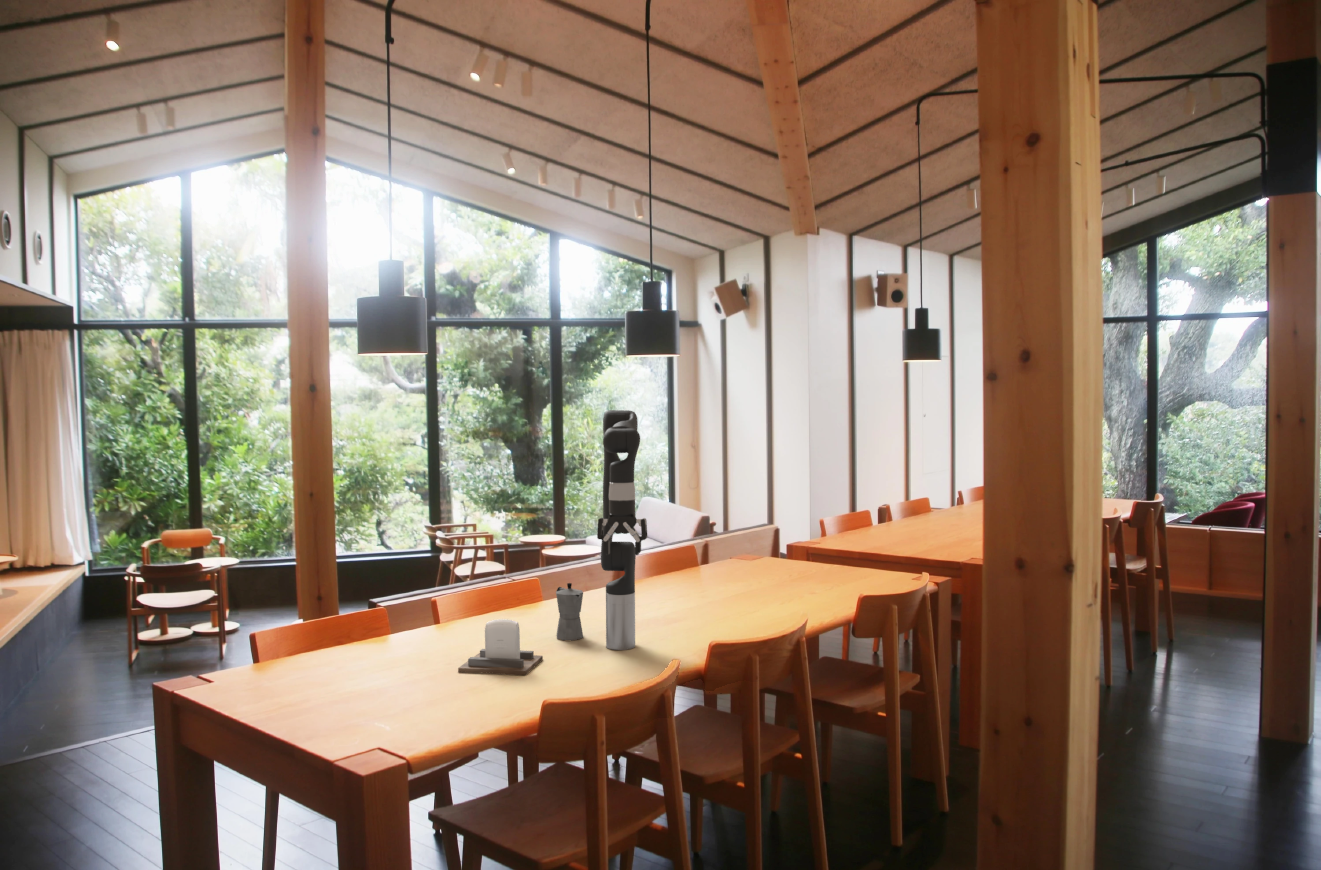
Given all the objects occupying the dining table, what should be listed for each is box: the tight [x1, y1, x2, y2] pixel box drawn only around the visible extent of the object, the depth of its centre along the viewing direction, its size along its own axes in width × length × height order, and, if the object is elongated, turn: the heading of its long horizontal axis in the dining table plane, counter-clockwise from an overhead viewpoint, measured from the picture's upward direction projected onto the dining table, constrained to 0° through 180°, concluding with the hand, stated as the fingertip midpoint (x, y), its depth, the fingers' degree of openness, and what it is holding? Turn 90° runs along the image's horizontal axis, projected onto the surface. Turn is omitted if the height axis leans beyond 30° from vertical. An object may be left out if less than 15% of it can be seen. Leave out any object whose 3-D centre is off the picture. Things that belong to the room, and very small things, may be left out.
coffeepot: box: [555, 582, 584, 641], centre depth 286 cm, size 15×9×18 cm, turn 33°
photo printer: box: [484, 618, 521, 659], centre depth 253 cm, size 10×4×12 cm, turn 85°
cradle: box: [457, 648, 544, 676], centre depth 253 cm, size 16×20×3 cm
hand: (622, 554), depth 248 cm, fingers open, 8 cm apart
